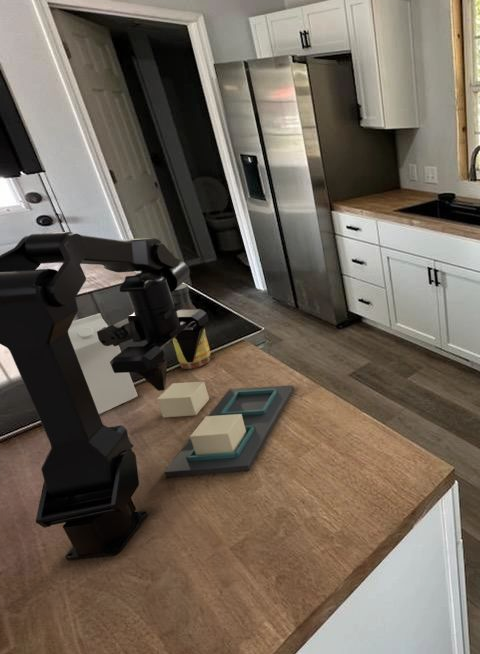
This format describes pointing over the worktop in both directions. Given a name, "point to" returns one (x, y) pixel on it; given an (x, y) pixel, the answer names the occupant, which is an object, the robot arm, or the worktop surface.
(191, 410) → the pad
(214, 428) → the pad
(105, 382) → the milk carton
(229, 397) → the back board
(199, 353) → the sauce bottle
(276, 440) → the worktop surface
